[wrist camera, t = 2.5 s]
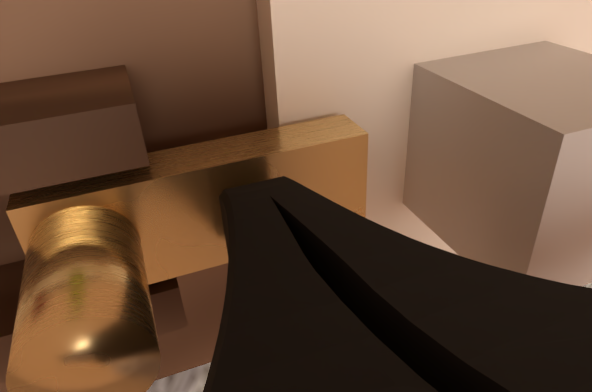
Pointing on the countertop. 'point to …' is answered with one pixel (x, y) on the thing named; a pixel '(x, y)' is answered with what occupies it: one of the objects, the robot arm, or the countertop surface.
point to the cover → (453, 117)
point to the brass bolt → (147, 247)
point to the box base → (123, 123)
